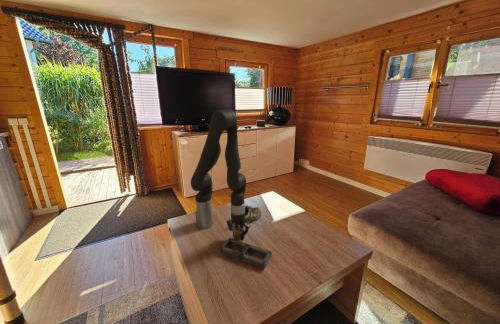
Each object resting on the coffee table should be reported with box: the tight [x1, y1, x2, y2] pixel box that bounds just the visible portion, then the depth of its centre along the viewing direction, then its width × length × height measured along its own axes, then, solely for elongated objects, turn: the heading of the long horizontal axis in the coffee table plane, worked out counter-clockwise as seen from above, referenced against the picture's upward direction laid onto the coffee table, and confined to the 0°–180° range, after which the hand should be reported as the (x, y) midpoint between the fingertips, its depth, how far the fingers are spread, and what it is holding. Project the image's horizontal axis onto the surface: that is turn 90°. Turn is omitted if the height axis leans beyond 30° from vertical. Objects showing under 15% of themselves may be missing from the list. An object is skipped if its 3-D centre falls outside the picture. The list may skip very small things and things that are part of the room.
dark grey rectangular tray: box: [219, 238, 273, 270], centre depth 105 cm, size 24×9×3 cm, turn 63°
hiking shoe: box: [244, 205, 262, 228], centre depth 136 cm, size 9×21×12 cm, turn 142°
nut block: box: [232, 228, 242, 242], centre depth 116 cm, size 4×4×7 cm
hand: (238, 238), depth 117 cm, fingers closed on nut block, 4 cm apart
